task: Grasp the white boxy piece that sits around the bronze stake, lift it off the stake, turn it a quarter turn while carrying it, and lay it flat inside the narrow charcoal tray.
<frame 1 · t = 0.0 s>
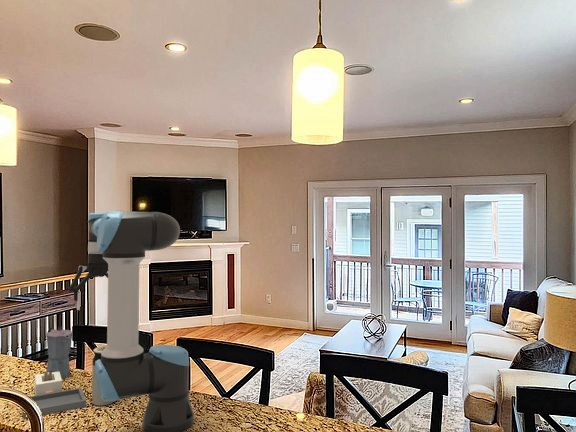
hand: (97, 307, 172), 28 cm above the countertop, tool pointing down, fingers open, 13 cm apart
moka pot: (56, 376, 176), on the countertop
white boxy piece: (47, 391, 160), on the countertop
stake: (47, 391, 160), on the countertop
travel mug: (104, 402, 152), on the countertop
tray: (54, 405, 149), on the countertop
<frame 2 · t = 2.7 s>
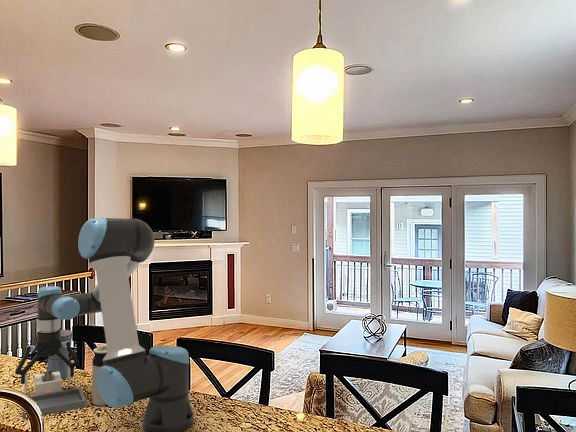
hand: (47, 389, 160), 1 cm above the countertop, tool pointing down, fingers open, 13 cm apart
nothing on the countertop moved.
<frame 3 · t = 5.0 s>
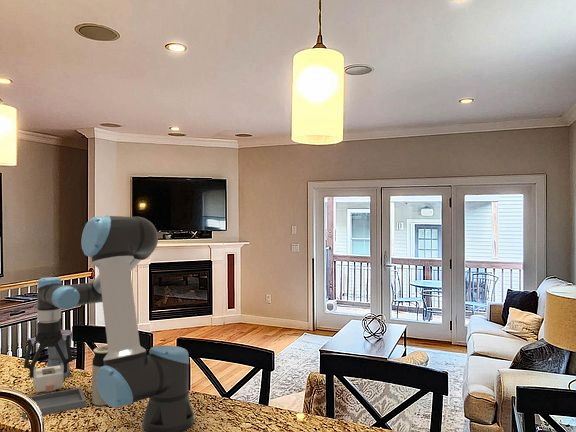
hand: (48, 384, 160), 3 cm above the countertop, tool pointing down, fingers closed on white boxy piece, 8 cm apart
white boxy piece: (48, 385, 160), point 2 cm above the countertop, touching gripper
everything else where it was.
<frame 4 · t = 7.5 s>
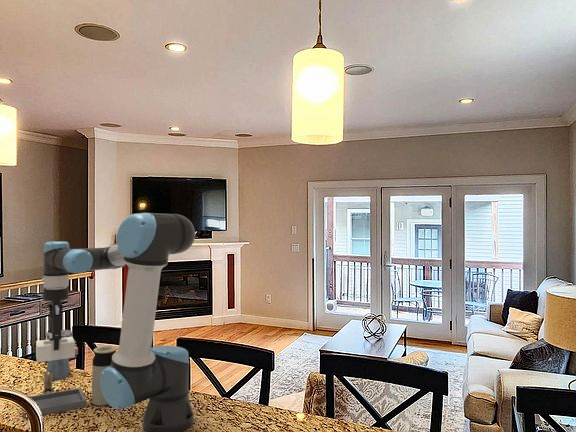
hand: (54, 355, 149), 16 cm above the countertop, tool pointing down, fingers closed on white boxy piece, 8 cm apart
white boxy piece: (55, 356, 149), point 16 cm above the countertop, touching gripper
everything else where it was.
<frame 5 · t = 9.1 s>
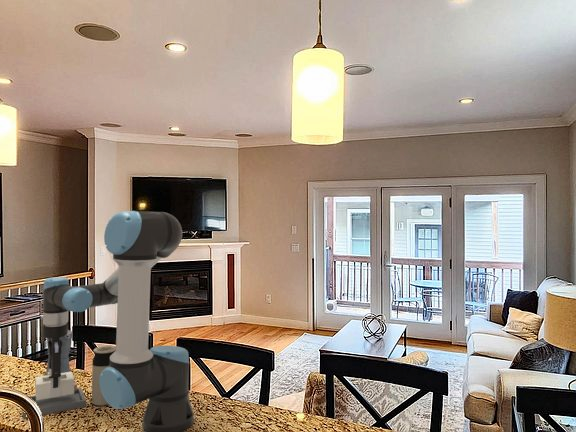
hand: (53, 392, 149), 4 cm above the countertop, tool pointing down, fingers closed on white boxy piece, 8 cm apart
white boxy piece: (54, 392, 149), point 4 cm above the countertop, touching gripper
everything else where it was.
when the fingers open (2 cm above the countertop, at t = 10.4 s): white boxy piece drops 1 cm, resting on tray.
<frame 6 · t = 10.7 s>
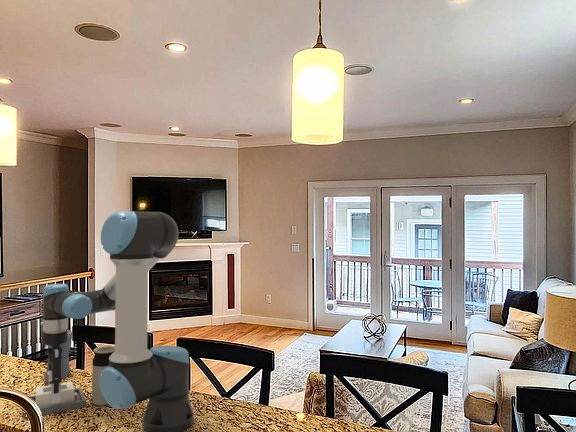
hand: (54, 395, 149), 3 cm above the countertop, tool pointing down, fingers open, 12 cm apart
white boxy piece: (54, 403, 149), point 1 cm above the countertop, touching tray
everything else where it was.
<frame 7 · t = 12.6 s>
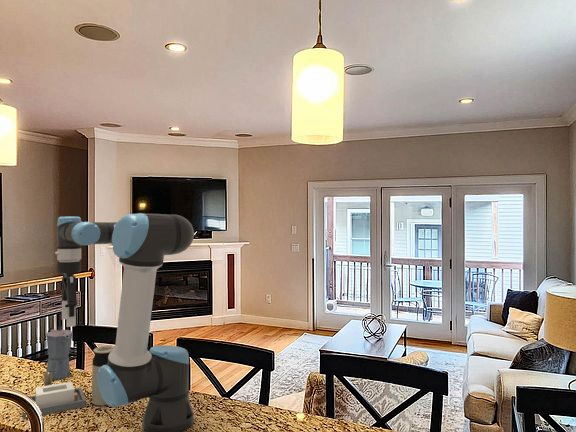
hand: (68, 322, 154), 26 cm above the countertop, tool pointing down, fingers open, 13 cm apart
nothing on the countertop moved.
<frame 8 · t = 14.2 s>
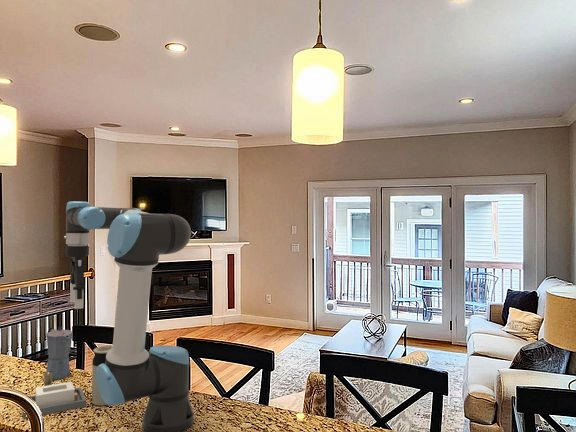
hand: (76, 305, 158), 32 cm above the countertop, tool pointing down, fingers open, 13 cm apart
nothing on the countertop moved.
at the end: white boxy piece inside the target area on the tray (0.2 cm from its centre), point 0.6 cm above the tray's base; white boxy piece tilted 0°; the gripper is holding nothing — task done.
